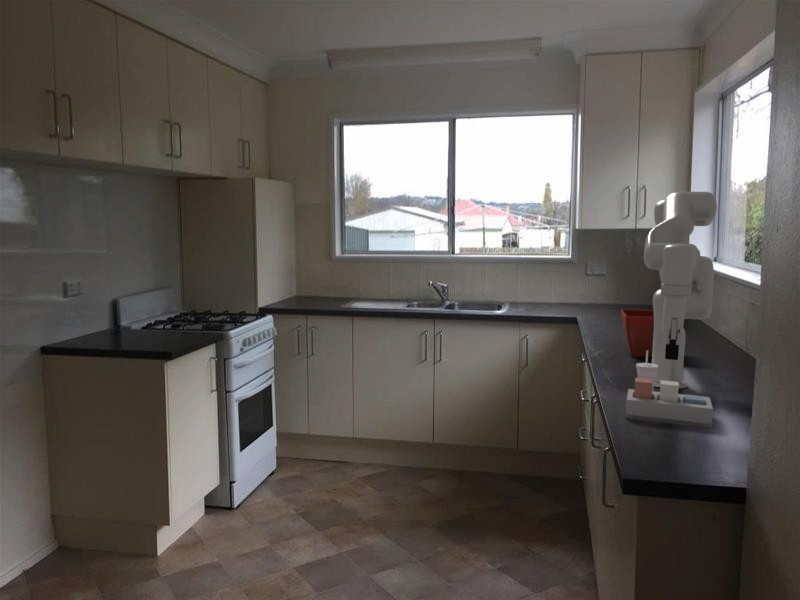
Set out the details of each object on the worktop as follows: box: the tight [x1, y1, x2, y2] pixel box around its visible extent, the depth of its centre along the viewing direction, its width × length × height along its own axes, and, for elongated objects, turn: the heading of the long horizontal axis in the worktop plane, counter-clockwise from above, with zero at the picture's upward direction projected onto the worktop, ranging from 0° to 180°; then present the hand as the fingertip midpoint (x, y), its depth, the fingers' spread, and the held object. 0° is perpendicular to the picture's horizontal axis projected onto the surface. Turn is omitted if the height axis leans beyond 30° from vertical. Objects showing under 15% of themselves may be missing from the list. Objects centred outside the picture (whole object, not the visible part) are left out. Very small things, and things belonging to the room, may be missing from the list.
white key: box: [659, 380, 680, 402], centre depth 175 cm, size 4×4×4 cm
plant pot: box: [620, 308, 654, 358], centre depth 256 cm, size 19×19×17 cm
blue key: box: [684, 394, 705, 405], centre depth 173 cm, size 4×4×4 cm
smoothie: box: [635, 351, 658, 391], centre depth 195 cm, size 6×6×14 cm
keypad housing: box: [625, 388, 714, 429], centre depth 175 cm, size 12×21×5 cm, turn 68°
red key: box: [634, 377, 653, 399], centre depth 177 cm, size 4×4×4 cm
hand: (671, 358), depth 173 cm, fingers closed
